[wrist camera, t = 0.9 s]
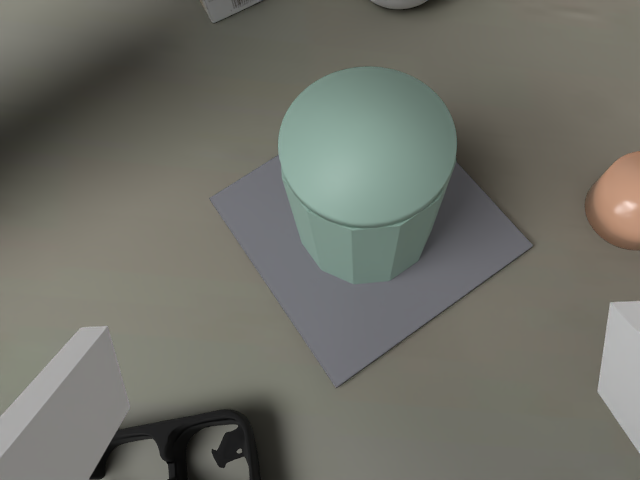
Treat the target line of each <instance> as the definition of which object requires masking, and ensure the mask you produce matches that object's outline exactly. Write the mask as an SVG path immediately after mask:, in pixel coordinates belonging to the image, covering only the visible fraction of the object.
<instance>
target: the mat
mask: <svg viewBox="0 0 640 480" xmlns="http://www.w3.org/2000/svg"><path fill="white" fill-rule="evenodd" d="M209 199H210V201H211V202H212V204H213V205H214V207H215V208H216V210H217V211H218V213H219V214H220V216H221V217H222V219H223V220H224V222H225V223H226V224H227V226H228V227H229V229H230V230H231V232H232V233H233V235H234V236H235V238H236V239H237V241H238V242H239V244H240V245H241V247H242V248H243V250H244V251H245V253H246V254H247V256H248V257H249V259H250V260H251V262H252V263H253V265H254V266H255V268H256V269H257V271H258V272H259V274H260V275H261V277H262V278H263V280H264V281H265V283H266V284H267V286H268V287H269V289H270V290H271V292H272V293H273V295H274V296H275V298H276V299H277V301H278V302H279V304H280V305H281V307H282V308H283V309H284V311H285V312H286V314H287V315H288V317H289V318H290V320H291V321H292V323H293V324H294V326H295V327H296V329H297V330H298V332H299V333H300V335H301V336H302V338H303V339H304V341H305V342H306V344H307V345H308V347H309V348H310V350H311V351H312V353H313V354H314V356H315V357H316V359H317V360H318V362H319V363H320V365H321V366H322V368H323V369H324V371H325V372H326V374H327V375H328V377H329V378H330V380H331V381H332V383H333V384H334V386H335V387H336V388H337V387H339V386H340V385H341V384H343V383H344V382H345V381H347V380H348V379H350V378H351V377H352V376H354V375H355V374H357V373H358V372H359V371H361V370H362V369H364V368H365V367H366V366H368V365H369V364H371V363H372V362H373V361H375V360H376V359H377V358H379V357H380V356H382V355H383V354H384V353H386V352H387V351H389V350H390V349H391V348H393V347H394V346H396V345H397V344H398V343H400V342H401V341H402V340H404V339H405V338H407V337H408V336H409V335H411V334H412V333H414V332H415V331H416V330H418V329H419V328H421V327H422V326H423V325H425V324H426V323H427V322H429V321H430V320H432V319H433V318H434V317H436V316H437V315H439V314H440V313H441V312H443V311H444V310H446V309H447V308H448V307H450V306H451V305H452V304H454V303H455V302H457V301H458V300H459V299H461V298H462V297H464V296H465V295H466V294H468V293H469V292H471V291H472V290H473V289H475V288H476V287H477V286H479V285H480V284H482V283H483V282H484V281H486V280H487V279H489V278H490V277H491V276H493V275H494V274H496V273H497V272H498V271H500V270H501V269H503V268H504V267H505V266H507V265H508V264H509V263H511V262H512V261H514V260H515V259H516V258H518V257H519V256H521V255H522V254H523V253H525V252H526V251H528V250H529V249H530V248H531V247H532V246H533V245H532V244H531V243H530V242H529V241H528V239H527V238H526V237H525V236H524V235H523V234H522V233H521V232H520V231H519V230H518V229H517V227H516V226H515V225H514V224H513V223H512V222H511V221H510V220H509V219H508V218H507V216H506V215H505V214H504V213H503V212H502V211H501V210H500V209H499V208H498V207H497V206H496V204H495V203H494V202H493V201H492V200H491V199H490V198H489V197H488V196H487V195H486V193H485V192H484V191H483V190H482V189H481V188H480V187H479V186H478V185H477V184H476V183H475V181H474V180H473V179H472V178H471V177H470V176H469V175H468V174H467V173H466V172H465V171H464V169H463V168H462V167H461V166H460V165H459V164H458V163H457V162H456V163H455V166H454V169H453V172H452V175H451V177H450V180H449V183H448V186H447V189H446V191H445V194H444V197H443V200H442V202H441V205H440V208H439V211H438V214H437V216H436V219H435V222H434V225H433V228H432V230H431V233H430V235H429V237H428V239H427V242H426V244H425V246H424V249H423V251H422V253H421V256H420V258H419V260H418V261H417V262H416V263H415V264H413V265H412V266H410V267H409V268H407V269H406V270H405V271H403V272H402V273H400V274H399V275H397V276H396V277H394V278H393V279H392V280H390V281H384V282H373V283H363V284H352V283H349V282H347V281H345V280H343V279H340V278H338V277H336V276H333V275H331V274H329V273H327V272H324V271H322V270H321V269H320V268H319V266H318V265H317V264H316V262H315V261H314V259H313V258H312V257H311V255H310V254H309V252H308V251H307V250H306V248H305V247H304V246H303V244H302V242H301V239H300V236H299V232H298V229H297V226H296V223H295V219H294V216H293V213H292V210H291V206H290V203H289V200H288V197H287V193H286V190H285V187H284V183H283V180H282V172H281V162H280V159H279V155H277V156H276V157H274V158H273V159H271V160H269V161H268V162H266V163H265V164H263V165H261V166H260V167H258V168H257V169H255V170H253V171H252V172H250V173H249V174H247V175H246V176H244V177H242V178H241V179H239V180H238V181H236V182H234V183H233V184H231V185H230V186H228V187H226V188H225V189H223V190H222V191H220V192H219V193H217V194H215V195H214V196H212V197H211V198H209Z"/></svg>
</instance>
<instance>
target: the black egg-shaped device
mask: <svg viewBox="0 0 640 480" xmlns="http://www.w3.org/2000/svg"><path fill="white" fill-rule="evenodd" d="M370 1H372V2H373V3H375V4H377V5H380V6H382V7H385V8H390V9H407V8H412V7H415V6H418V5H420V4H422V3H424V2H426V1H428V0H370Z"/></svg>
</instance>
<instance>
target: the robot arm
mask: <svg viewBox="0 0 640 480" xmlns="http://www.w3.org/2000/svg"><path fill="white" fill-rule="evenodd" d="M597 392H598V393H599V395H600V396H601V398H602V399H603V401H604V402H605V404H606V405H607V406H608V408H609V409H610V411H611V412H612V414H613V415H614V417H615V418H616V420H617V421H618V423H619V424H620V426H621V427H622V428H623V430H624V431H625V433H626V434H627V436H628V437H629V439H630V440H631V442H632V443H633V445H634V446H635V447H636V449H637V450H638V452H639V453H640V301H629V302H610V307H609V314H608V321H607V328H606V335H605V342H604V349H603V356H602V363H601V370H600V377H599V384H598V391H597ZM129 409H130V404H129V400H128V397H127V393H126V390H125V386H124V382H123V379H122V375H121V372H120V368H119V364H118V361H117V357H116V354H115V350H114V346H113V343H112V339H111V336H110V332H109V328H108V326H97V327H81V328H80V329H79V330H78V331H77V332H76V333H75V334H74V335H73V337H72V338H71V339H70V340H69V341H68V342H67V343H66V344H65V345H64V347H63V348H62V349H61V350H60V351H59V352H58V353H57V354H56V355H55V357H54V358H53V359H52V360H51V361H50V362H49V363H48V364H47V365H46V367H45V368H44V369H43V370H42V371H41V372H40V373H39V374H38V375H37V377H36V378H35V379H34V380H33V381H32V382H31V383H30V384H29V385H28V387H27V388H26V389H25V390H24V391H23V392H22V393H21V394H20V395H19V396H18V398H17V399H16V400H15V401H14V402H13V403H12V404H11V405H10V406H9V408H8V409H7V410H6V411H5V412H4V413H3V414H2V415H1V416H0V480H89V478H90V476H91V474H92V473H93V471H94V469H95V468H96V466H97V464H98V462H99V461H100V459H101V457H102V456H103V454H104V452H105V450H106V449H107V447H108V445H109V443H110V442H111V440H112V438H113V437H114V435H115V433H116V431H117V430H118V428H119V426H120V424H121V423H122V421H123V419H124V418H125V416H126V414H127V412H128V411H129Z"/></svg>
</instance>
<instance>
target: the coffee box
mask: <svg viewBox="0 0 640 480" xmlns="http://www.w3.org/2000/svg"><path fill="white" fill-rule="evenodd" d="M260 1H262V0H200V2H201V4H202V6H203V7H204V9H205V11H206V13H207V15H208V16H209V18H210V20H211V22H212V23H215V22H217V21H220V20H222V19H224V18H226V17H228V16H230V15H233V14H235V13H237V12H239V11H241V10H243V9H245V8H247V7H250V6H252V5H254V4H256V3H258V2H260Z"/></svg>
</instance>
